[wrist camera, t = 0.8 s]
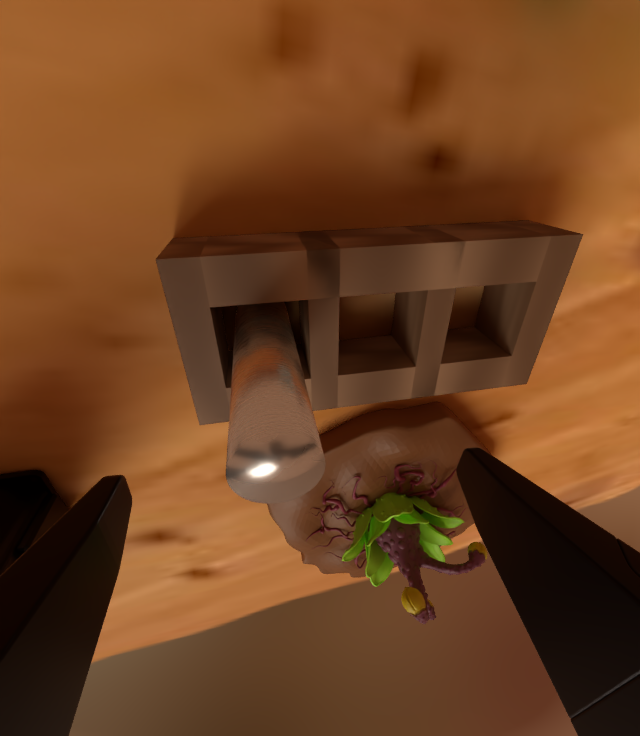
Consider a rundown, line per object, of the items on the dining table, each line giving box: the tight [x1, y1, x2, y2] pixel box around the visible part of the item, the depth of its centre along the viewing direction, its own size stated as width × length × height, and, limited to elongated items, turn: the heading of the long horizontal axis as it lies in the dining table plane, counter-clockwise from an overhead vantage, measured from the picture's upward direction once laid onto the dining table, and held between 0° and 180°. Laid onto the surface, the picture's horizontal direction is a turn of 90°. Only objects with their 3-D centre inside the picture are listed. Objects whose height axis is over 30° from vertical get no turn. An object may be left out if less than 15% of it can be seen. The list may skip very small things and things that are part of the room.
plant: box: [267, 402, 491, 624], centre depth 27 cm, size 20×20×11 cm
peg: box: [226, 302, 325, 503], centre depth 15 cm, size 3×3×12 cm
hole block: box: [156, 220, 583, 425], centre depth 20 cm, size 20×9×4 cm, turn 91°
